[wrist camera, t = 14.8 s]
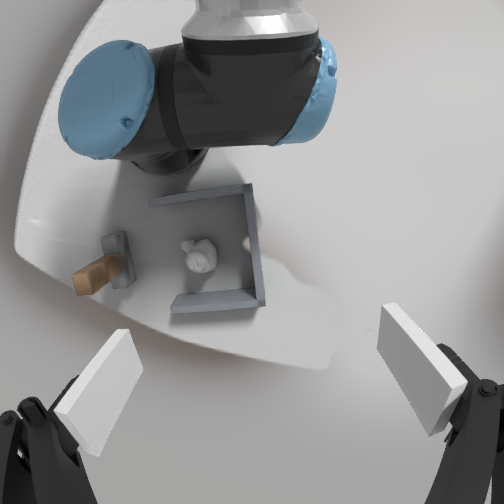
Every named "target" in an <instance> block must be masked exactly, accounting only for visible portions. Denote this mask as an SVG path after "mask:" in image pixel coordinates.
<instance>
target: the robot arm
mask: <svg viewBox="0 0 504 504" xmlns="http://www.w3.org/2000/svg"><path fill="white" fill-rule="evenodd" d="M195 2H196V11H195V13H194V14H193V16H192V17H191V18H190V19H189V20H188V22H187V23H186V24H185V25H184V26H183V27H182V29H181V33H182V39H183V43H179V44H174V45H169V46H164V47H159V48H155V49H150V50H147V48H146V47H145V46H143V45H141V44H139V43H135V42H132V41H128V40H116V41H111V42H108V43H105V44H103V45H101V46H99V47H97V48H96V49H94V50H93V51H91V52H90V53H89V54H88V55H86V56H85V57H84V58H83V59H82V60H81V61H80V62H79V64H78V65H77V66H76V67H75V69H74V71H73V73H72V75H71V76H70V77H69V79H68V80H67V82H66V84H65V86H64V89H63V91H62V94H61V98H60V102H59V109H58V122H59V128H60V132H61V135H62V137H63V139H64V141H65V142H67V145H69V147H70V148H71V149H72V150H73V151H74V152H76V153H78V154H80V155H83V156H88V157H90V158H92V159H95V160H96V159H98V160H104V159H117V160H129V161H131V162H132V163H133V164H134V165H135V166H137V167H138V168H139V169H141V170H143V171H145V172H147V173H151V174H155V175H172V174H177V173H180V172H183V171H185V170H187V169H189V168H190V167H192V166H193V165H195V164H196V163H197V162H198V161H199V160H200V159H201V158H202V157H203V156H204V154H205V153H206V152H207V150H208V148H214V147H228V146H245V145H268V146H279V145H281V144H290V143H304V142H307V141H309V140H311V139H313V138H315V137H316V136H317V135H318V134H319V133H320V132H321V130H322V129H323V127H324V126H325V124H326V122H327V119H328V117H329V115H330V112H331V108H332V105H333V101H334V97H335V91H336V84H337V80H336V79H335V77H334V76H335V72H336V70H337V62H336V55H335V51H334V49H333V47H332V45H331V44H330V43H329V42H328V40H326V39H324V38H322V37H320V36H318V31H319V24H318V22H317V21H316V20H315V19H314V18H313V17H312V16H311V15H309V13H308V12H306V11H305V10H304V8H303V7H302V5H301V0H195ZM377 350H378V351H379V353H380V355H381V356H382V358H383V359H384V361H385V362H386V364H387V366H388V367H389V369H390V371H391V372H392V374H393V376H394V377H395V379H396V380H397V382H398V384H399V385H400V387H401V389H402V390H403V392H404V394H405V396H406V397H407V399H408V401H409V402H410V404H411V406H412V408H413V409H414V411H415V413H416V414H417V416H418V418H419V420H420V422H421V423H422V425H423V427H424V429H425V431H426V432H427V434H428V436H429V437H430V436H432V435H434V434H436V433H439V432H441V431H443V430H444V429H445V427H446V426H447V424H448V422H449V421H450V423H451V424H452V426H453V427H452V428H451V430H450V432H449V433H448V435H447V437H446V438H445V441H444V442H446V441H447V440H448V441H447V444H446V448H445V451H444V454H443V458H442V461H441V464H440V467H439V469H438V472H437V475H436V477H435V480H434V483H433V485H432V488H431V490H430V493H429V495H428V497H427V499H426V502H425V504H484V502H485V499H486V496H487V492H488V488H489V484H490V480H491V476H492V495H491V504H504V384H502V385H497V383H495V382H494V381H492V380H489V379H482V380H480V379H479V378H478V377H477V376H476V375H475V374H474V373H473V371H472V370H471V369H470V368H469V367H468V366H467V365H466V364H465V363H464V362H463V361H462V359H460V357H459V356H457V354H456V353H455V352H454V351H453V350H452V349H451V348H450V347H448V346H446V345H444V344H442V343H441V344H438V345H435V344H434V343H433V342H432V341H431V339H430V338H429V337H428V336H427V335H426V334H425V333H424V332H423V331H422V330H421V329H420V328H419V327H418V326H417V325H416V324H415V323H414V321H413V320H412V319H411V318H410V317H409V316H408V315H407V314H406V313H405V312H404V311H403V310H402V309H401V308H400V307H399V306H398V305H397V304H396V303H395V302H393V303H389V304H383V305H382V309H381V319H380V328H379V336H378V344H377ZM142 372H143V366H142V364H141V362H140V359H139V356H138V354H137V351H136V348H135V346H134V343H133V340H132V337H131V335H130V332H129V329H117V330H116V331H115V332H114V333H113V335H112V336H111V337H110V338H109V339H108V341H107V342H106V343H105V344H104V346H103V347H102V348H101V349H100V350H99V352H98V353H97V354H96V355H95V357H94V358H93V359H92V360H91V362H90V363H89V364H88V365H87V367H86V368H85V369H84V370H83V372H82V373H81V374H80V375H78V376H76V377H75V378H73V379H72V380H71V381H70V382H69V383H68V385H67V386H66V389H64V390H63V391H62V394H60V395H59V396H58V398H57V399H56V400H55V402H54V403H53V404H52V406H51V407H50V408H49V410H48V411H47V410H46V409H45V408H44V406H43V405H42V403H41V401H40V400H39V399H38V398H36V397H28V398H26V399H24V400H23V401H22V402H20V404H19V405H18V408H17V411H18V412H19V413H20V415H21V416H22V417H23V419H20V418H19V416H18V415H17V413H16V412H14V411H12V410H9V411H6V412H4V413H2V415H1V416H0V504H98V503H97V501H96V498H95V496H94V493H93V491H92V488H91V486H90V483H89V481H88V477H87V474H86V472H85V468H84V465H83V463H82V459H81V456H80V453H79V452H78V451H77V447H78V446H79V445H80V446H81V447H82V448H83V450H84V451H85V452H86V453H89V454H92V455H95V456H98V457H99V456H100V454H101V452H102V450H103V448H104V446H105V444H106V442H107V439H108V438H109V436H110V433H111V431H112V429H113V427H114V425H115V423H116V421H117V419H118V418H119V416H120V414H121V412H122V410H123V408H124V406H125V404H126V402H127V400H128V398H129V396H130V394H131V392H132V390H133V388H134V386H135V385H136V382H137V381H138V379H139V377H140V375H141V373H142ZM18 449H19V451H20V452H21V453H22V454H23V455H22V458H21V457H20V456H19V455H18V454H17V452H18Z"/></svg>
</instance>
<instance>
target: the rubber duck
mask: <svg viewBox="0 0 504 504" xmlns="http://www.w3.org/2000/svg"><path fill="white" fill-rule="evenodd" d="M181 249H182V250H184V251H185V252H186V253H187V255H186V260H185V265H186V266H187V267H188V268H189V269H190V270H191V271H192V272H194V273H206V272H210V271H213V270H214V269H215V268H216V266H217V250H216V247H215V246H214V244H213V243H211V242H210V241H209V240H208V239H205V240H201V241H198V242H195V241H193V240H192V239H187V240H184V241H182V243H181Z"/></svg>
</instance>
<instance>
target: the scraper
mask: <svg viewBox="0 0 504 504" xmlns="http://www.w3.org/2000/svg"><path fill="white" fill-rule="evenodd" d="M101 242H102V247H103V251H104V256H103V257H101V258H99V259H98V260H96V261H94V262H93V263H91V264H89V265H88V266H86V267H84V268H83V269H81V270H79V271H78V272H76V273H74V274H73V275H71V276H72V280H73V283H74V287H75V290H76V293H77V295H93V294H94V293H95V292H97V291H98V290H99V289H100V288H102V287H103V286H104V285H105V284H107V283H108V282H109V281H110V280H111V283H112V287H113V289H117V288H127V287H129V286H130V285H131V284H132V283H133V282H134V281H135V280H136V276H135V272H134V268H133V264H132V260H131V255H130V251H129V246H128V241H127V236H126V231H122V232H117V233H111V234H109V235H107V236H105V237H102V238H101Z"/></svg>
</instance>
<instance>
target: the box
mask: <svg viewBox="0 0 504 504" xmlns="http://www.w3.org/2000/svg"><path fill="white" fill-rule="evenodd" d="M242 193H244V200H245V208H246V216H247V224H248V232H249V240H250V248H251V256H252V264H253V272H254V280H255V288H247V289H237V290H226V291H216V292H204V293H192V294H180V295H177V297H176V298H175V300H174V301H173V303H172V305H171V306H170V310H171V313H172V314H175V313H192V312H206V311H219V310H231V309H242V308H253V307H263V306H266V305H265V291H264V282H263V274H262V265H261V256H260V247H259V239H258V230H257V222H256V213H255V205H254V196H253V188H252V183H250V184H241V185H234V186H226V187H219V188H212V189H205V190H198V191H192V192H186V193H180V194H174V195H168V196H162V197H157V198H153V199H148V202H149V207H155V206H161V205H167V204H173V203H179V202H185V201H192V200H198V199H205V198H212V197H219V196H227V195H234V194H242Z"/></svg>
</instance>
